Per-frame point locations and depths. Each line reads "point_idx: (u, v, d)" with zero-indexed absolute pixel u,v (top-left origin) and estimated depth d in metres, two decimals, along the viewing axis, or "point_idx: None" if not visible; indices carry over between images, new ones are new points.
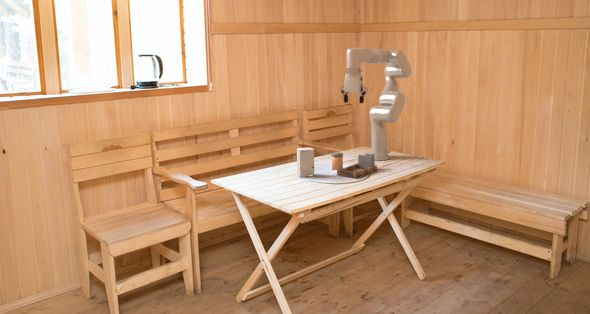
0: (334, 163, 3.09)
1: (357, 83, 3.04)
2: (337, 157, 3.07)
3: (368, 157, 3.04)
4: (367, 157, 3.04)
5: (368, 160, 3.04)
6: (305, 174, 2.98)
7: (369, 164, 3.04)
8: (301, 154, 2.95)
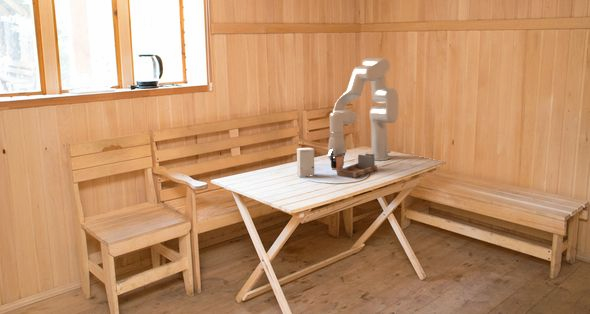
0: None
1: (344, 145, 3.10)
2: (337, 157, 3.07)
3: (368, 157, 3.04)
4: (367, 157, 3.04)
5: (368, 160, 3.04)
6: (305, 174, 2.98)
7: (369, 164, 3.04)
8: (301, 154, 2.95)
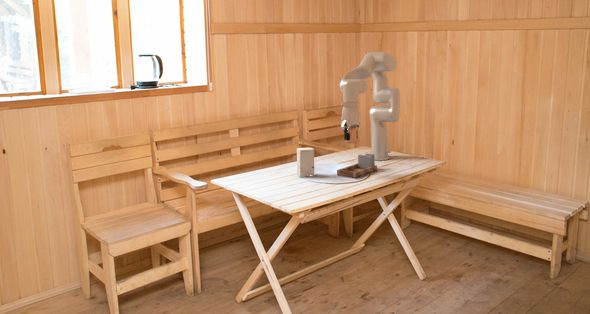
0: None
1: (358, 116, 2.93)
2: (351, 128, 2.90)
3: (368, 157, 3.04)
4: (367, 157, 3.04)
5: (368, 160, 3.04)
6: (305, 174, 2.98)
7: (369, 164, 3.04)
8: (301, 154, 2.95)
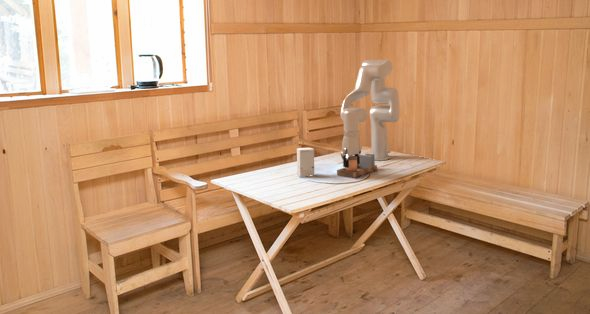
0: None
1: (358, 144, 2.96)
2: (351, 160, 2.94)
3: (368, 157, 3.04)
4: (367, 157, 3.04)
5: (368, 160, 3.04)
6: (305, 174, 2.98)
7: (369, 164, 3.04)
8: (301, 154, 2.95)
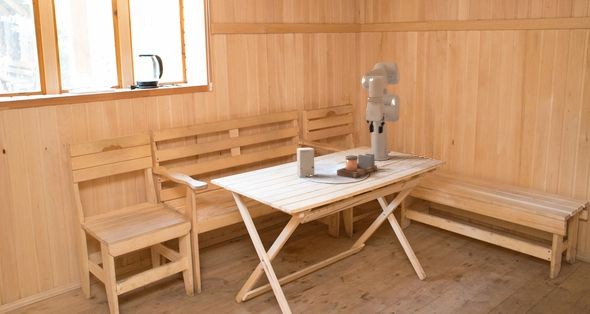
0: (348, 166, 2.95)
1: None
2: (352, 160, 2.94)
3: (368, 157, 3.04)
4: (367, 157, 3.04)
5: (368, 160, 3.04)
6: (305, 174, 2.98)
7: (369, 164, 3.04)
8: (301, 154, 2.95)
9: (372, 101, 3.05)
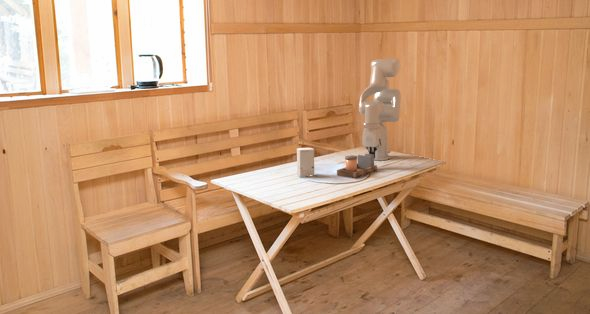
0: (348, 166, 2.95)
1: None
2: (351, 160, 2.94)
3: (368, 157, 3.03)
4: (367, 157, 3.04)
5: (368, 160, 3.04)
6: (305, 174, 2.98)
7: (369, 164, 3.04)
8: (301, 154, 2.95)
9: (368, 127, 3.05)
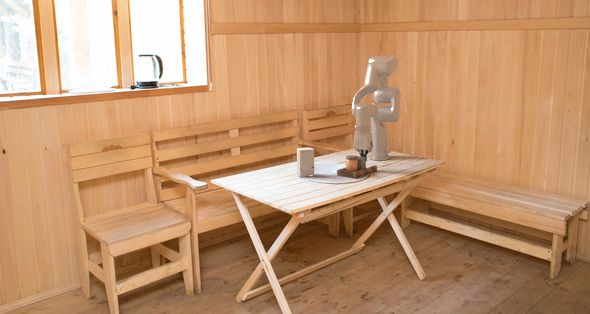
0: (349, 166, 2.95)
1: None
2: (352, 160, 2.94)
3: (359, 160, 2.98)
4: (358, 160, 2.98)
5: (359, 163, 2.98)
6: (305, 174, 2.98)
7: (360, 167, 2.98)
8: (301, 154, 2.95)
9: (359, 130, 2.99)
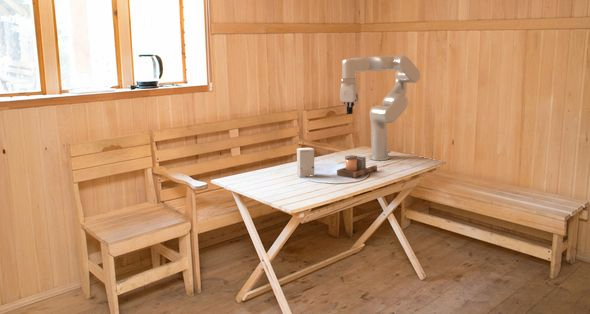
0: (349, 166, 2.95)
1: None
2: (352, 160, 2.94)
3: (359, 160, 2.98)
4: (358, 160, 2.98)
5: (359, 163, 2.98)
6: (305, 174, 2.98)
7: (360, 167, 2.98)
8: (301, 154, 2.95)
9: (345, 82, 3.11)
